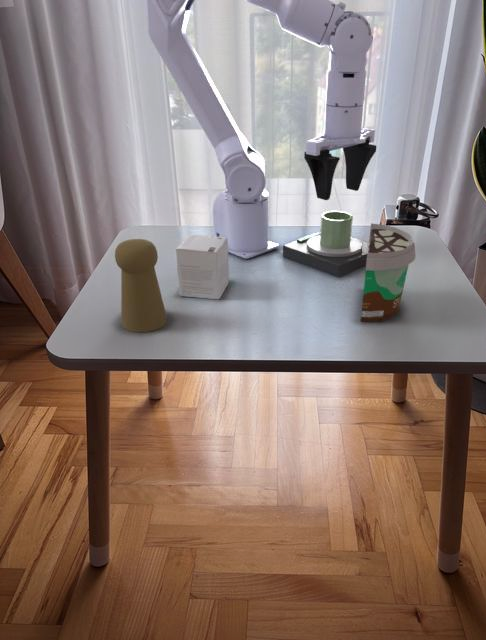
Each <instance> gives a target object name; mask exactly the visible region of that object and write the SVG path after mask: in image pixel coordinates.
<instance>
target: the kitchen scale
mask: <svg viewBox="0 0 486 640" xmlns="http://www.w3.org/2000/svg"><path fill="white" fill-rule="evenodd" d="M368 248H369V242H367V241H364V240H361V239H358V238H356V237H354V236H351V241H350V245H349V246H348V247H346V248H340V249H333V248H327V247H324V246H322V245H321V244H320V231H319V232H314V233H311V234H308V235H306V236H301V237H299V238H296V240H294V241H291V242H288V243H286V244H283V245H282V257H283V258H286V259H288V260H291V261H294V262H296V263H300V264H302V265H304V266H307V267H310V268H313V269H315V270H318V271H320V272H323V273H326V274H327V275H331V276H333V277H337V278H341V277H343V276H346V275H348V274H350V273H352V272H354V271H356V270H358V269H361V268H363V267H366V262H367V253H368Z"/></svg>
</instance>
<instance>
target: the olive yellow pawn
mask: <svg viewBox="0 0 486 640" xmlns="http://www.w3.org/2000/svg"><path fill="white" fill-rule="evenodd" d="M158 258H159V257H158V250H157V247H156V245H155V244H154V243H153V242H152V241H150V240H148V239H143V238H131V239H127V240H123V241H122V242H120V243H119V244H117V246H116V248H115V250H114V260H115V263H116V265H117V267H118V268H119V269H120V270H121V277H120V279H121V286H120V287H121V288H120V291H121V292H120V293H121V294H120V295H121V296H120V298H121V300H120V301H121V302H120V305H121V307H120V308H121V310H120V314H121V315H120V319H121V320H120V324H121V327H122V328H123V329H124V330H126V331H128V332H132V333H149V332H153V331H157V330H159V329H161V328H163V327H164V326H165V325H167V322H168V317H167V312H166V309H165V305H164V300H163V296H162V292H161V288H160V284H159V280H158V276H157V272H156V268H155V266H156V265H157V263H158Z"/></svg>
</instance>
